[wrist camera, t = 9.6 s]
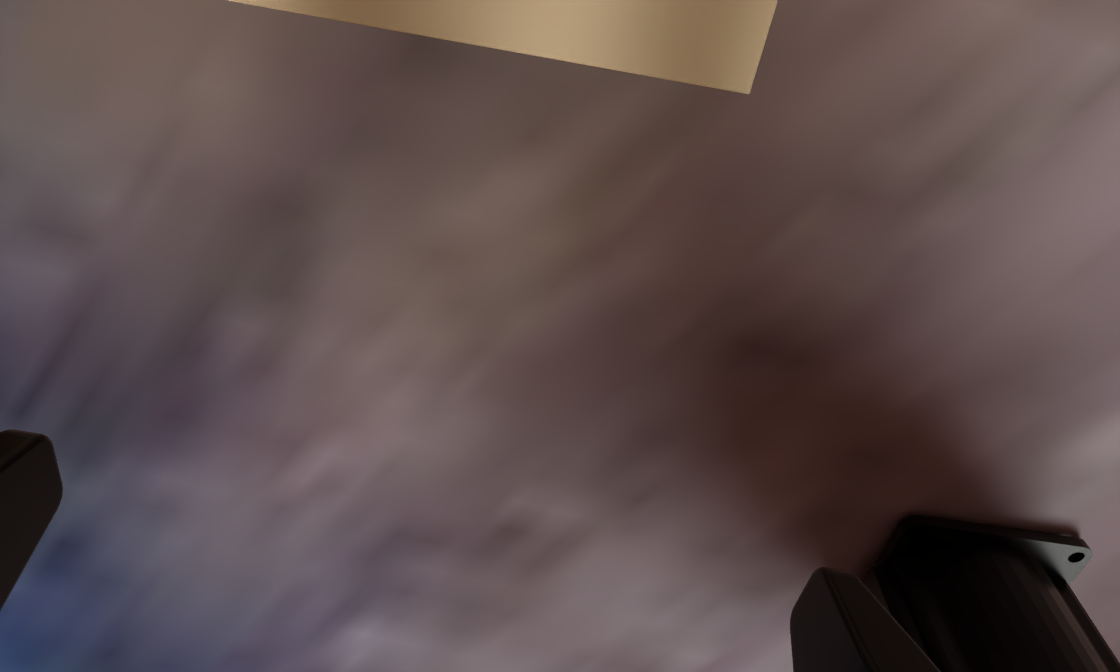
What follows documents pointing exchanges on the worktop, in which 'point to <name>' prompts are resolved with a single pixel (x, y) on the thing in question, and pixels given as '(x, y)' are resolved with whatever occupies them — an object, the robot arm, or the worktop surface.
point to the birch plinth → (584, 31)
